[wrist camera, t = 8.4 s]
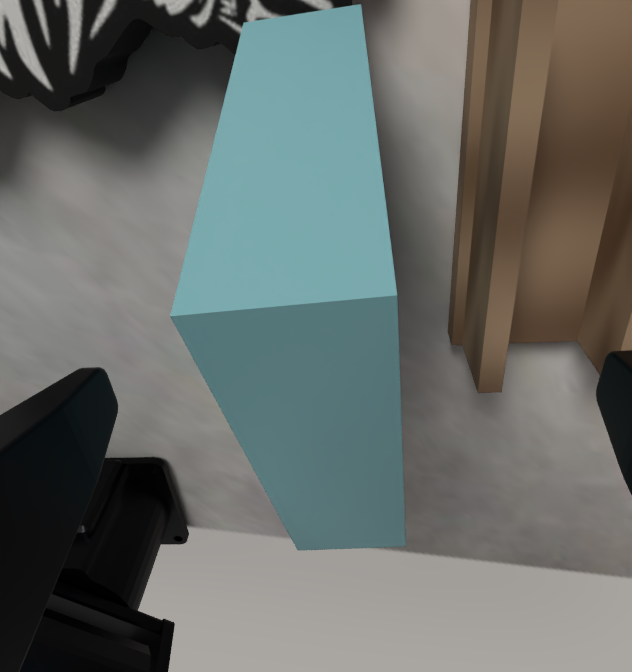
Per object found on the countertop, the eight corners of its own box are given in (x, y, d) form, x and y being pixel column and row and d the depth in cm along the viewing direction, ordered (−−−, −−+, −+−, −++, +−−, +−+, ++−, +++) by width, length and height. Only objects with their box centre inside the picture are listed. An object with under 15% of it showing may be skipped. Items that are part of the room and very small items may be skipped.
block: (380, 286, 21) (405, 546, 14) (305, 293, 21) (297, 550, 15) (361, 4, 13) (397, 294, 7) (243, 22, 13) (170, 316, 7)
